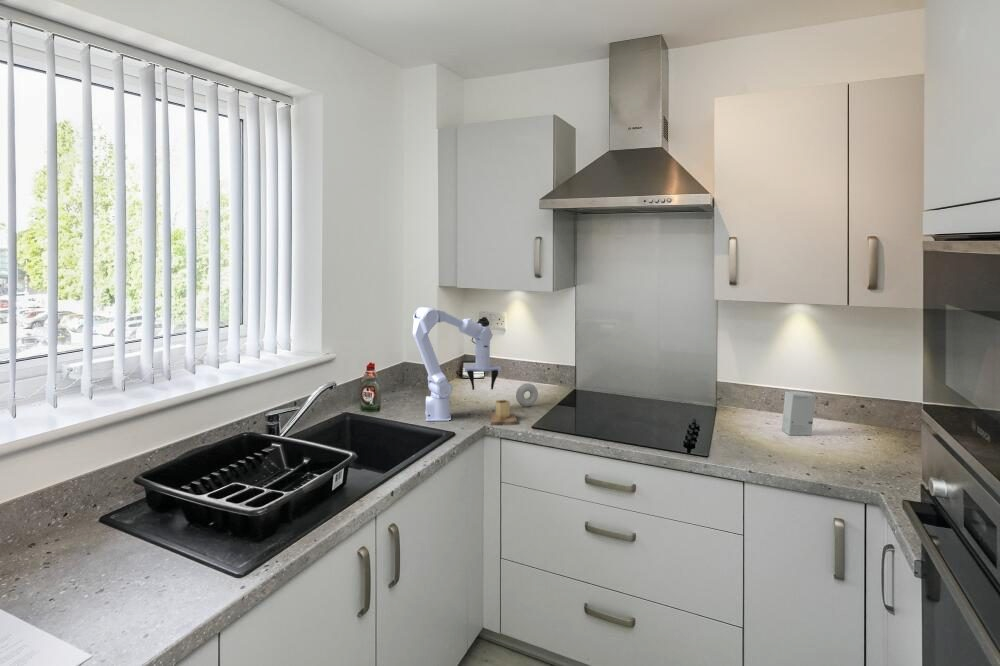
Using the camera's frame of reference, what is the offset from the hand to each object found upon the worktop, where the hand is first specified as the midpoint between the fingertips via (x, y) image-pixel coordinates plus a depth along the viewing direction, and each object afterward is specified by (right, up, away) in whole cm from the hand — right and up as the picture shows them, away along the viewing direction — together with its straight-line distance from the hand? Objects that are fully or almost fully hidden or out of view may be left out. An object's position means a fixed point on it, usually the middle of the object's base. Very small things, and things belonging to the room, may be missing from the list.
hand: (482, 389), depth 226 cm
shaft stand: (+8, -11, -10) cm, 17 cm away
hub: (+8, -10, -10) cm, 16 cm away
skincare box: (+114, -14, -25) cm, 117 cm away
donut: (+18, -9, +9) cm, 22 cm away
